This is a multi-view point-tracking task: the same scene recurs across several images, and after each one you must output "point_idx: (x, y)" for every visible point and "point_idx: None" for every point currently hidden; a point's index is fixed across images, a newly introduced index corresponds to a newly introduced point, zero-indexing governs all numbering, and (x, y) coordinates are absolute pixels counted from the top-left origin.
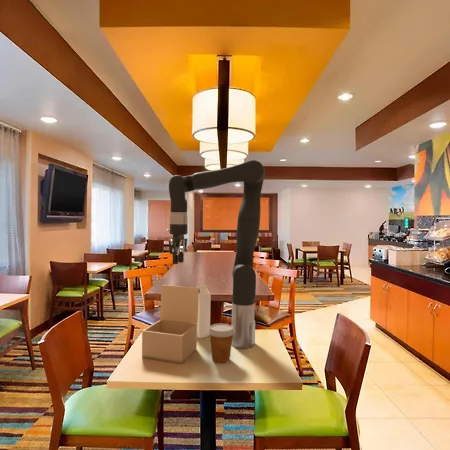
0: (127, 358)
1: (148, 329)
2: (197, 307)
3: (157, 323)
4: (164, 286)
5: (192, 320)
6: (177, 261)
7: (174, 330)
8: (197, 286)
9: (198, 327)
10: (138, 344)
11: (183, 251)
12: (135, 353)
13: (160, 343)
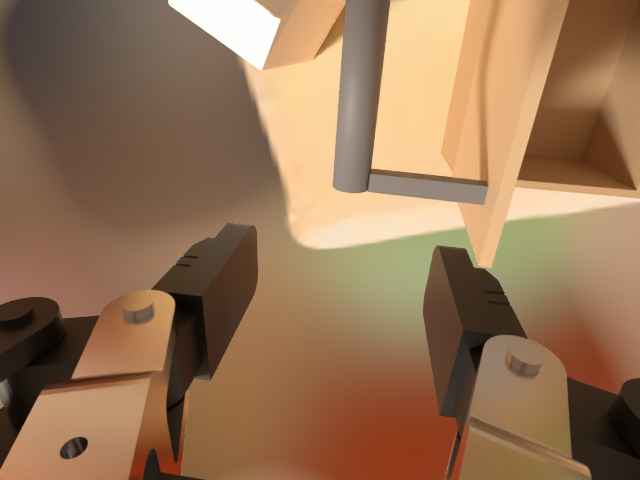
0: (588, 209)
1: (593, 184)
2: None
3: None
4: (495, 239)
5: None
6: (470, 264)
7: None
8: (260, 3)
9: (338, 4)
10: (456, 224)
11: (156, 327)
12: (541, 201)
13: None
